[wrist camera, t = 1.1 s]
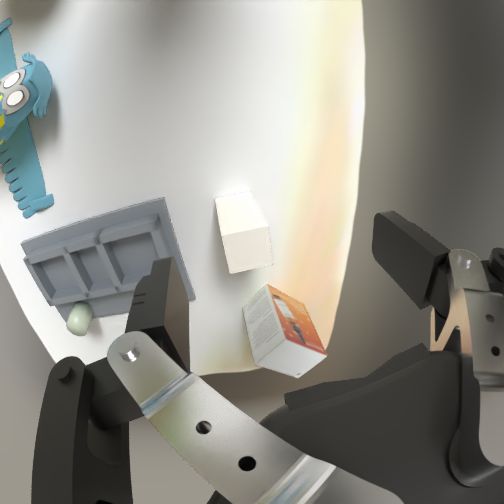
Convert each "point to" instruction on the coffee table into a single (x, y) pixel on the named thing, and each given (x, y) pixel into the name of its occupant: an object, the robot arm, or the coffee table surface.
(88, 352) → the coffee table surface
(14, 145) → the blue yellow plastic figure
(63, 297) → the grey compartment tray
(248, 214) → the plug
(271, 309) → the small box
